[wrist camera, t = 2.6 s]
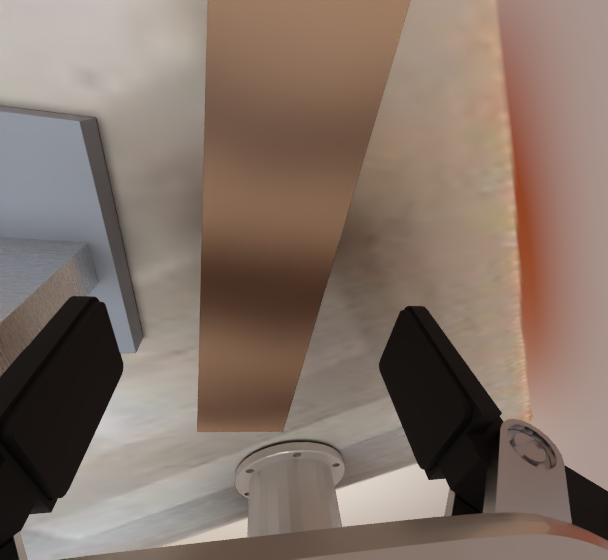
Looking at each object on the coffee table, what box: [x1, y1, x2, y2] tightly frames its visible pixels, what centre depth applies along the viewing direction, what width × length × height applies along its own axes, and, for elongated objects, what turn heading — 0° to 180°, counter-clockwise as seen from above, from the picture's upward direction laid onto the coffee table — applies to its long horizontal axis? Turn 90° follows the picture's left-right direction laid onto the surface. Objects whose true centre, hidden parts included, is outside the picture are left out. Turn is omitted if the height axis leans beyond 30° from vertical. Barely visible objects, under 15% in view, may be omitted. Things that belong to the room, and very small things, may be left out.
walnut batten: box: [197, 0, 411, 432], centre depth 15 cm, size 20×5×7 cm, turn 168°
